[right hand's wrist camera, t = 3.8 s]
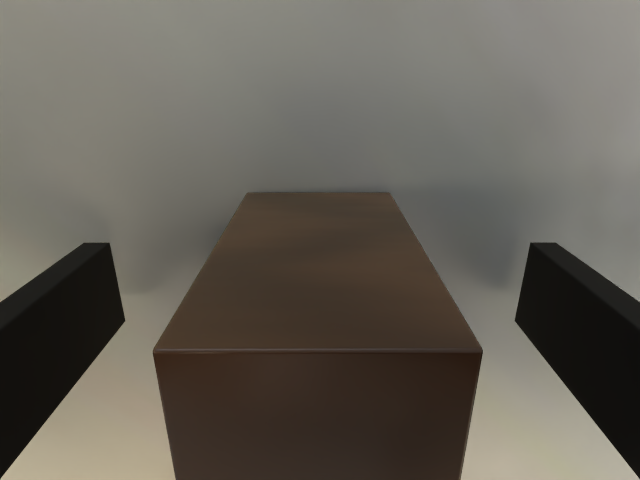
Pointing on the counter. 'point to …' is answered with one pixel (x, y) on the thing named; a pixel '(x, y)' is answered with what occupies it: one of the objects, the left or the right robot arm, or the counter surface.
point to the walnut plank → (318, 350)
